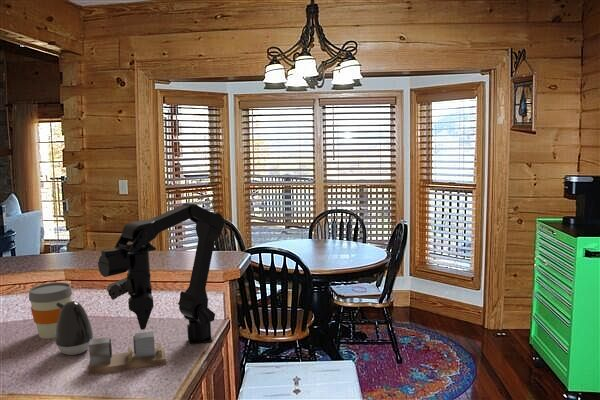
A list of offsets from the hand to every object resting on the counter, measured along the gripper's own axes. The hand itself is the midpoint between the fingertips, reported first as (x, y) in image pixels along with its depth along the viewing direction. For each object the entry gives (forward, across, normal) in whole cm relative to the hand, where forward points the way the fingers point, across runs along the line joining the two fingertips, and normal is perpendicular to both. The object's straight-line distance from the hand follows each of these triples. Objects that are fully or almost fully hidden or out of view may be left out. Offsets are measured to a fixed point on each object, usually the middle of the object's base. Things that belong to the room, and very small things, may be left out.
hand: (142, 323), depth 149 cm
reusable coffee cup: (+11, -32, -28) cm, 44 cm away
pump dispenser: (+11, -14, -20) cm, 27 cm away
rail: (+11, 0, -4) cm, 12 cm away
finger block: (+9, 0, 0) cm, 9 cm away
